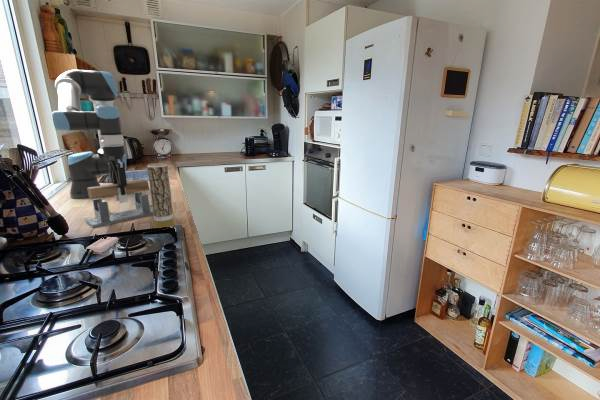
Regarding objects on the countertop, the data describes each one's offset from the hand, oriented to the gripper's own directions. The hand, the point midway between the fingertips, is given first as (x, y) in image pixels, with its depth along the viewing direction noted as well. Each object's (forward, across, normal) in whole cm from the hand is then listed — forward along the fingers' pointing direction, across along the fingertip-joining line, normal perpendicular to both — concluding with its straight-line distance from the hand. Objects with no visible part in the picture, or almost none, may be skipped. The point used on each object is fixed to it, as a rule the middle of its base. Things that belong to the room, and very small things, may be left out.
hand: (121, 201), depth 130 cm
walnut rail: (-3, 0, 0) cm, 3 cm away
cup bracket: (+7, 0, 0) cm, 7 cm away
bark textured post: (+8, +26, +6) cm, 28 cm away
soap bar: (+8, +29, -16) cm, 34 cm away
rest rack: (+7, -14, +4) cm, 16 cm away
